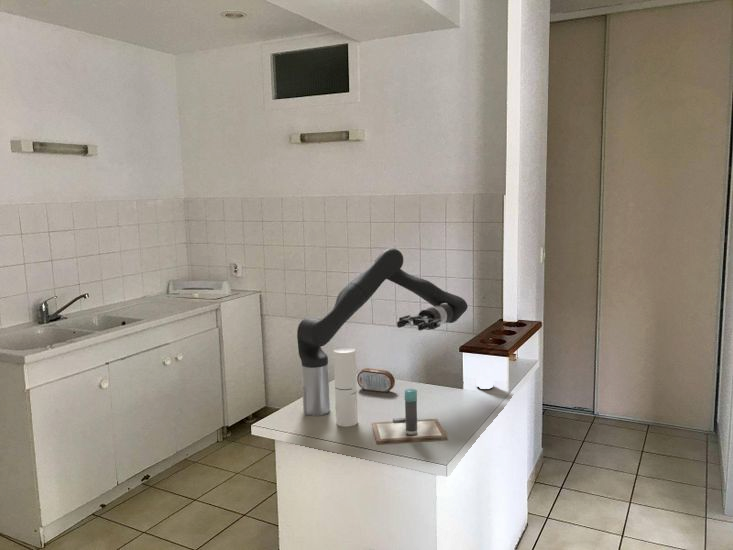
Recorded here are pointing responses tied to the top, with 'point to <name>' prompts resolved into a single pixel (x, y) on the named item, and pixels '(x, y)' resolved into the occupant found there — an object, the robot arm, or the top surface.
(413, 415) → the marker
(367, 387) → the tin
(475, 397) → the top surface
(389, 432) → the clipboard
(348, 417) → the cylindrical container
